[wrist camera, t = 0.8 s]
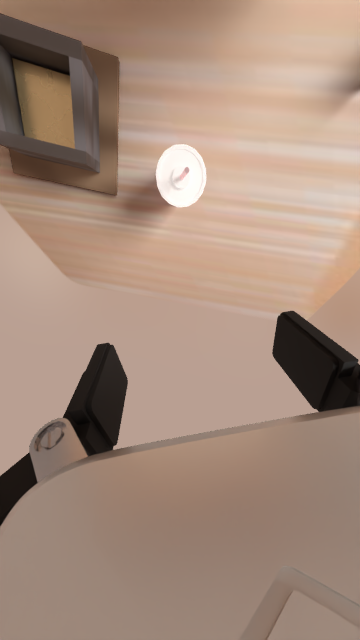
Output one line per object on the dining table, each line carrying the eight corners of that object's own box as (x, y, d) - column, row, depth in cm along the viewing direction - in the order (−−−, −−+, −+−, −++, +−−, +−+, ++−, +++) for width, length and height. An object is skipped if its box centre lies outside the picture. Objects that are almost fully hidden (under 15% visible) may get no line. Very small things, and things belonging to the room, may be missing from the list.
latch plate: (18, 64, 21) (12, 58, 20) (80, 83, 22) (77, 78, 21) (29, 140, 24) (25, 137, 23) (83, 153, 25) (81, 151, 24)
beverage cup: (149, 194, 30) (144, 183, 18) (167, 151, 28) (174, 107, 16) (182, 215, 32) (196, 218, 20) (201, 177, 30) (230, 155, 18)
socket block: (-12, 18, 21) (-80, -60, 15) (119, 62, 23) (105, 11, 17) (18, 173, 28) (-21, 163, 22) (117, 195, 30) (106, 191, 24)
